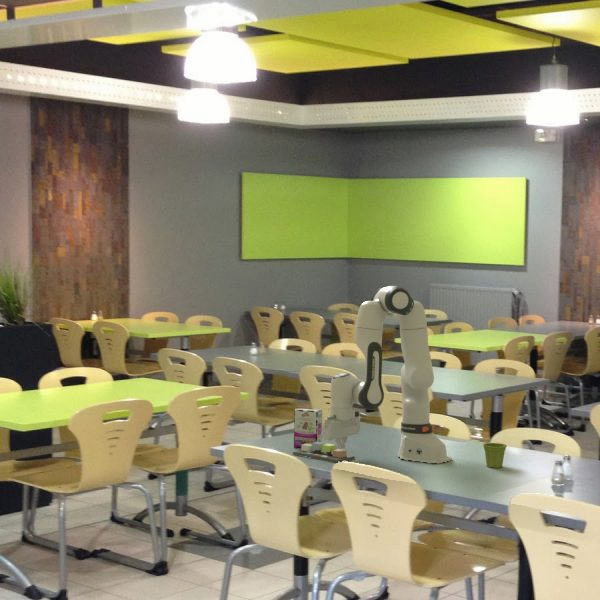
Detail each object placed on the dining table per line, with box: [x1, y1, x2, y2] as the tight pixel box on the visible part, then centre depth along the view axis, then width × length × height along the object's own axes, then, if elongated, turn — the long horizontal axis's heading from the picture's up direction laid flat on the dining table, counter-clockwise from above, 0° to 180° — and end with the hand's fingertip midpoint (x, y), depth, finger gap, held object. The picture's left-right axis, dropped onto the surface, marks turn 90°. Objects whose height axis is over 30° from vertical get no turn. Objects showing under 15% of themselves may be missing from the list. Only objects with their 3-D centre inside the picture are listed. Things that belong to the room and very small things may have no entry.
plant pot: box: [482, 442, 508, 469], centre depth 439 cm, size 9×9×9 cm
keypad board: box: [292, 449, 356, 464], centre depth 452 cm, size 23×11×2 cm, turn 49°
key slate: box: [312, 441, 327, 452], centre depth 454 cm, size 4×4×4 cm
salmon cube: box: [333, 448, 348, 459], centre depth 447 cm, size 4×4×4 cm
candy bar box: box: [293, 407, 323, 449], centre depth 471 cm, size 11×5×16 cm, turn 62°
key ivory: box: [300, 443, 315, 453], centre depth 458 cm, size 4×4×4 cm
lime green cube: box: [322, 443, 337, 454], centre depth 450 cm, size 4×4×4 cm
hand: (341, 448), depth 446 cm, fingers closed
